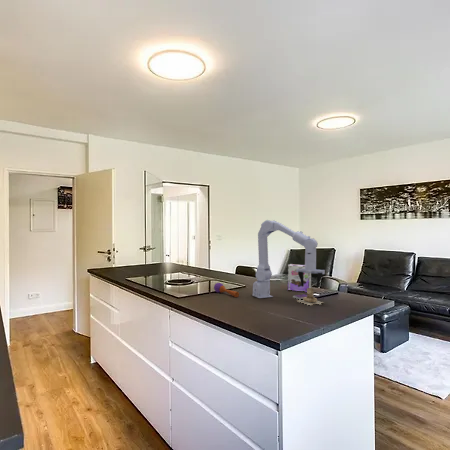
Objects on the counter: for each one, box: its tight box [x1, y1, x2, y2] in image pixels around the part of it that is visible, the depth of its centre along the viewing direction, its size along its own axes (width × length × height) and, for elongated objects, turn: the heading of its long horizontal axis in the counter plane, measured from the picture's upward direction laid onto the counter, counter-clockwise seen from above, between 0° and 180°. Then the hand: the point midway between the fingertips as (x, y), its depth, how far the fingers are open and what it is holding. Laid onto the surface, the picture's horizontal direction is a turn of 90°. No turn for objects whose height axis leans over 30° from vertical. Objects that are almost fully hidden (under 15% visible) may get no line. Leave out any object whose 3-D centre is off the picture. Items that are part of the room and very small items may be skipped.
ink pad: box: [292, 294, 307, 300], centre depth 182 cm, size 8×6×2 cm
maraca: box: [213, 282, 240, 298], centre depth 190 cm, size 6×6×20 cm
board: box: [296, 299, 324, 306], centre depth 171 cm, size 10×10×1 cm
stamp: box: [303, 287, 318, 303], centre depth 171 cm, size 5×5×7 cm
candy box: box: [287, 263, 312, 293], centre depth 203 cm, size 14×6×16 cm, turn 62°
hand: (310, 286), depth 171 cm, fingers open, 7 cm apart
